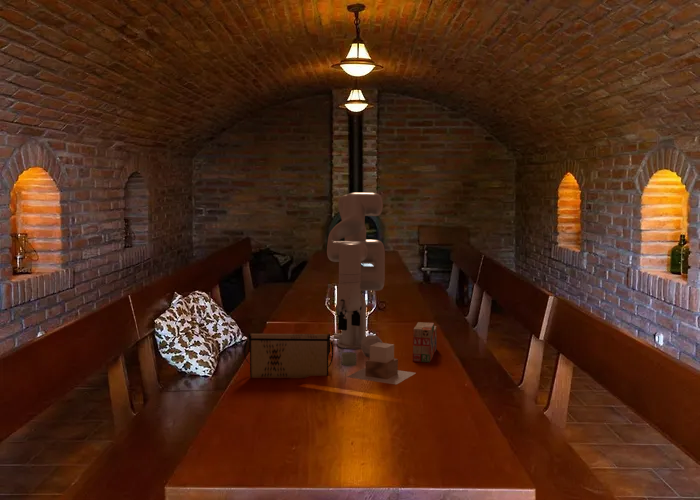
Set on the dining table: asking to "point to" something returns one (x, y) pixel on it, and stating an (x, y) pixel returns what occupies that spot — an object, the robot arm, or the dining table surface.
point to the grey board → (393, 380)
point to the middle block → (382, 352)
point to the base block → (381, 369)
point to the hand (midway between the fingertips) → (349, 327)
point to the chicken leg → (369, 343)
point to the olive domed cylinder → (348, 358)
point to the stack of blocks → (424, 342)
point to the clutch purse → (288, 355)
